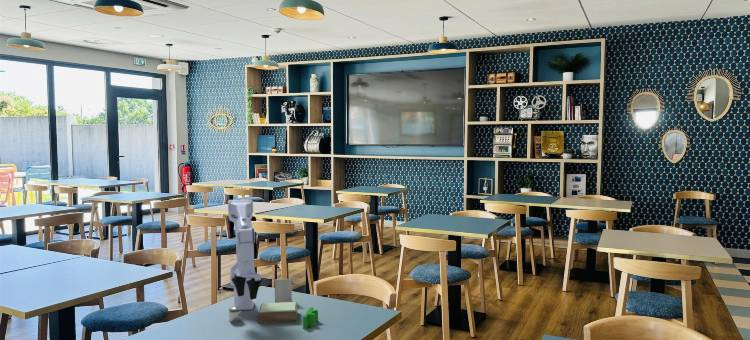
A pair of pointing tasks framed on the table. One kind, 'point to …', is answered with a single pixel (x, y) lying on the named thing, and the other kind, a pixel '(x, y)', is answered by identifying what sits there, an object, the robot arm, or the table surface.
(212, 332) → the table surface
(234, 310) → the grey metal cylinder
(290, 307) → the walnut stand
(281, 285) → the grey rectangular block
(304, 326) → the pipe clamp
